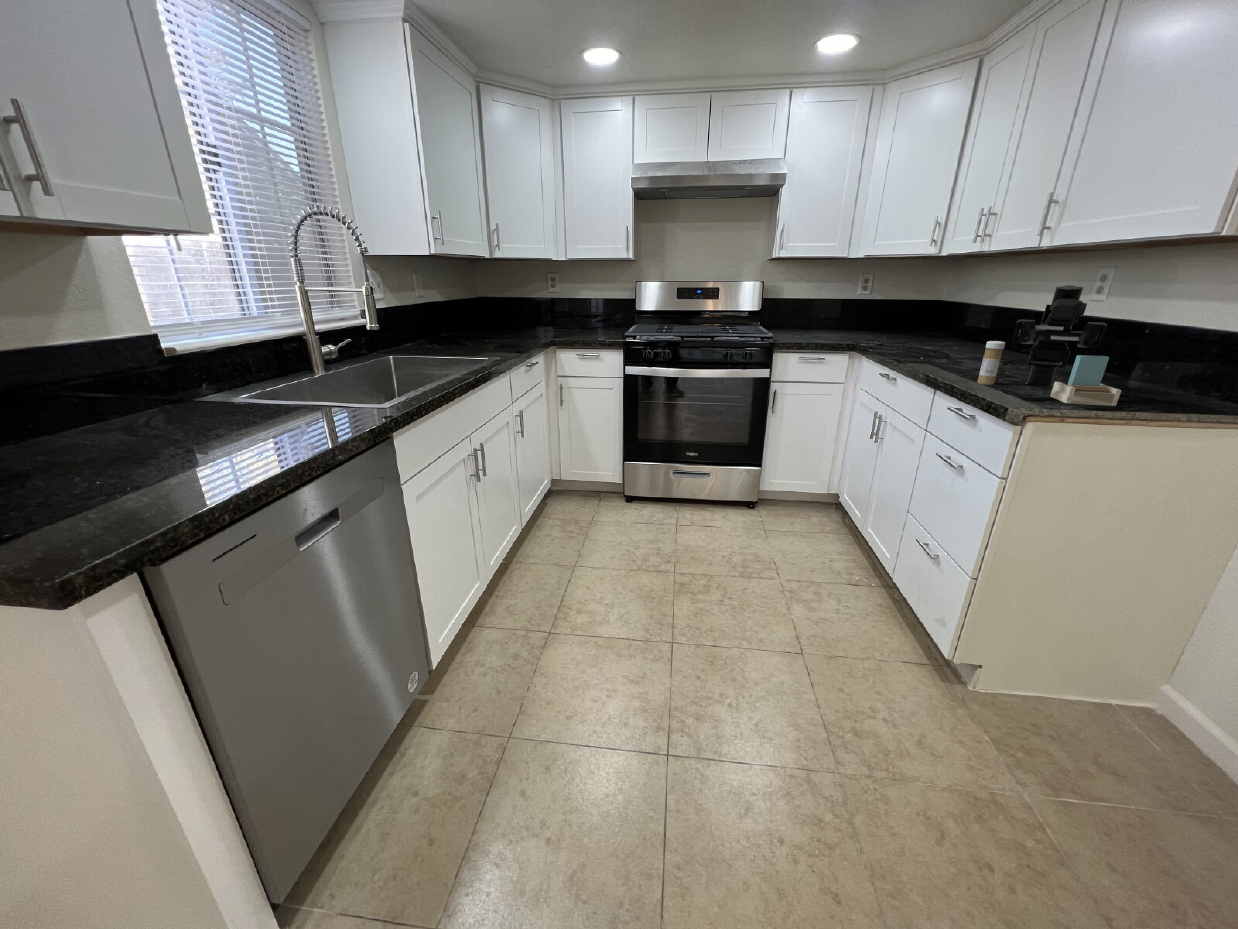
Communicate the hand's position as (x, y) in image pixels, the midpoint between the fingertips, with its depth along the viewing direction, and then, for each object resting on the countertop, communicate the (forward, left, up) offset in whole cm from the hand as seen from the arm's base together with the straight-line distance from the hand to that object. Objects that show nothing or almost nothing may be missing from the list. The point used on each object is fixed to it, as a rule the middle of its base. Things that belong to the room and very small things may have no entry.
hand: (1055, 341), depth 129 cm
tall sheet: (-5, +8, -15) cm, 18 cm away
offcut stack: (-2, +9, -15) cm, 18 cm away
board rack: (-3, +9, -16) cm, 18 cm away
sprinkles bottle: (-13, -14, -16) cm, 25 cm away
